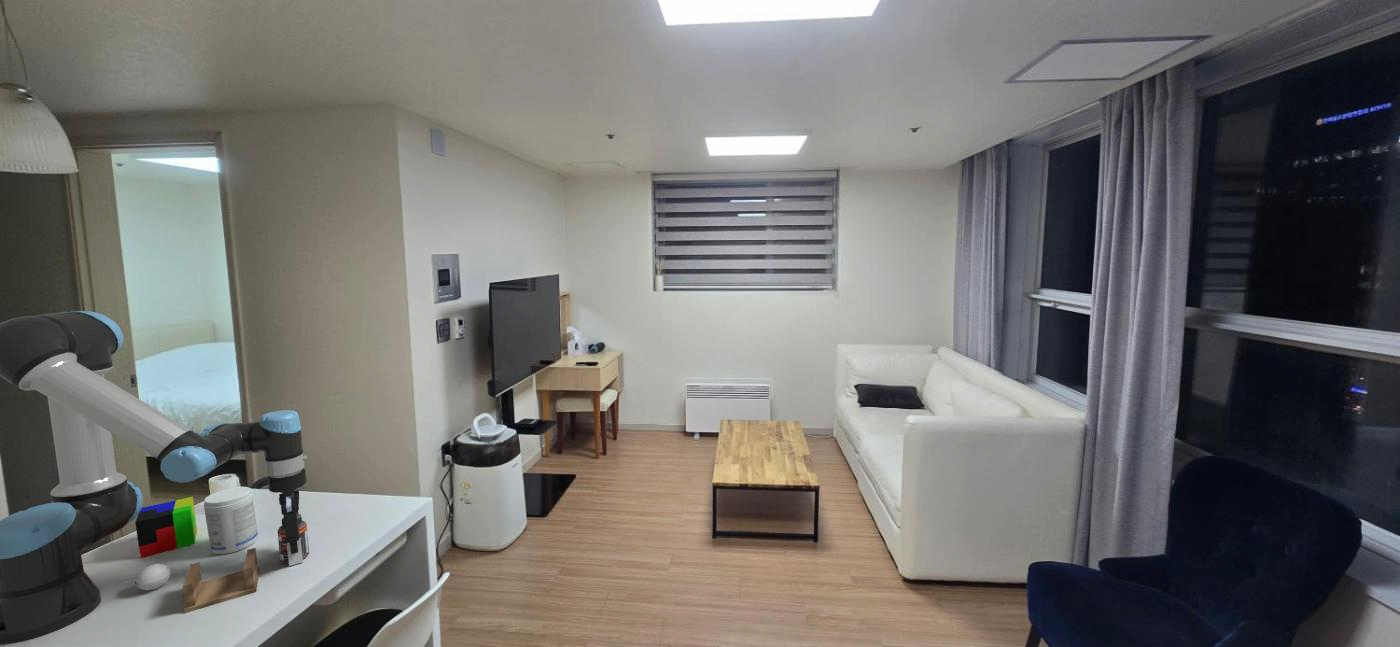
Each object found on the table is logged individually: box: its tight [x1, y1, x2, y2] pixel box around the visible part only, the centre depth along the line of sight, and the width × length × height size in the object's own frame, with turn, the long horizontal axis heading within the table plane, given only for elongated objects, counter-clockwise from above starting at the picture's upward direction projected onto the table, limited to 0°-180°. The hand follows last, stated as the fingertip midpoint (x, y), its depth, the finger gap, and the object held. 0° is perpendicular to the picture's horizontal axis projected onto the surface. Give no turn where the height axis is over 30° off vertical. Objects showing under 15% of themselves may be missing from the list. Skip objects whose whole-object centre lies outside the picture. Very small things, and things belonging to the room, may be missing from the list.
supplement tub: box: [203, 486, 259, 555], centre depth 137 cm, size 10×10×15 cm
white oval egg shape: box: [124, 563, 171, 591], centre depth 120 cm, size 8×6×6 cm
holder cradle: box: [182, 547, 261, 614], centre depth 120 cm, size 12×11×6 cm
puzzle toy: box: [135, 496, 198, 559], centre depth 138 cm, size 10×10×10 cm
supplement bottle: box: [277, 512, 310, 565], centre depth 132 cm, size 6×6×11 cm
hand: (296, 556), depth 133 cm, fingers open, 6 cm apart
